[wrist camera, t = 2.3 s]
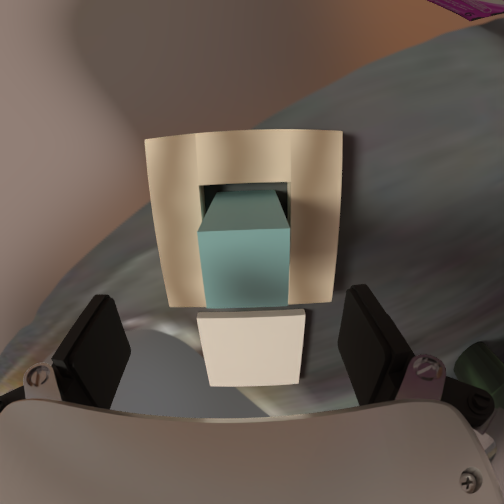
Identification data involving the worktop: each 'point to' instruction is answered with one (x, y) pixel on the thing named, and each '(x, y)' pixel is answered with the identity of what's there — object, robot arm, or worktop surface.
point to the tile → (252, 346)
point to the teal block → (245, 250)
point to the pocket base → (247, 171)
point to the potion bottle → (482, 371)
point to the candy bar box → (472, 7)
